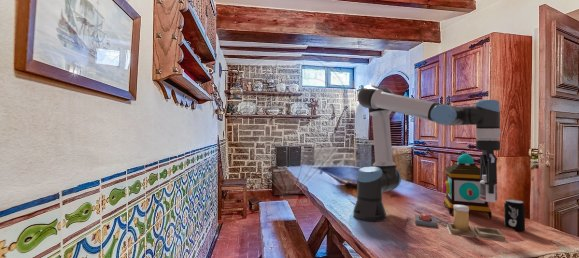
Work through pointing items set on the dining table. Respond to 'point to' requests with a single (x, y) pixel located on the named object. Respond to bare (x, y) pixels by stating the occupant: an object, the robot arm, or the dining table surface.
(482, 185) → the pill bottle
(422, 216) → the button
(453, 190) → the decorative lantern
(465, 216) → the amber capped bottle
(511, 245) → the dining table surface
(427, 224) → the grey square frame
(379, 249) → the dining table surface
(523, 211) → the beverage can
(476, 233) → the wooden divided tray
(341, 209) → the dining table surface
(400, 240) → the dining table surface
